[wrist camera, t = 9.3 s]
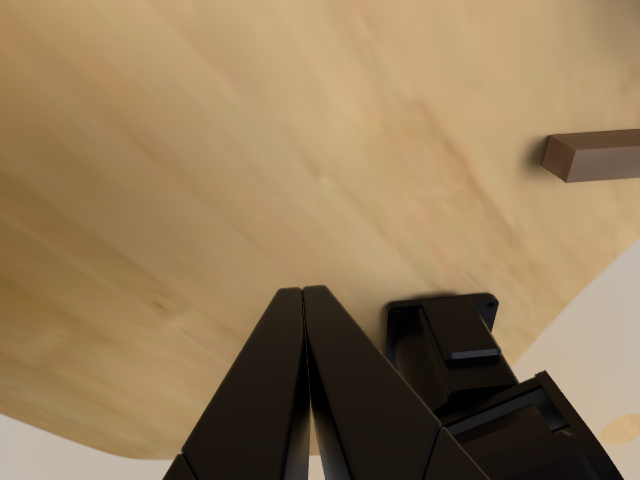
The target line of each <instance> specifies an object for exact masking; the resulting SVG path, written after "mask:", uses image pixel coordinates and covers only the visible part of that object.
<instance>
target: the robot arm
mask: <svg viewBox="0 0 640 480" xmlns="http://www.w3.org/2000/svg"><path fill="white" fill-rule="evenodd" d="M302 294H303V297H302ZM488 302H490V303H488ZM487 303H488V304H487ZM498 305H499V302H498V300H497V299H496V297H495V296H494V295H492V294H483V295H472V296H460V297H449V298H437V299H426V300H414V301H403V302H394V303H391V304H389V305H388V306H387V308H386V317H385V333H384V349H383V353H382V352H381V351H380V350H379V349H378V347H377V346H376V345H375V344H374V343H373V341H372V340H371V339H370V338H369V337H368V335H367V334H366V333H365V332H364V331H363V330H362V328H361V327H360V326H359V325H358V324H357V322H356V321H355V320H354V319H353V318H352V316H351V315H350V314H349V313H348V312H347V311H346V309H345V308H344V307H343V306H342V305H341V303H340V302H339V301H338V300H337V299H336V297H335V296H334V295H333V294H332V293H331V292H330V290H329V289H328V288H327V287H326V286H324V285H316V286H305V287H304V288H303V289H301V288H300V287H291V288H281V289H279V290H278V291H277V292H276V294H275V295H274V297H273V299H272V300H271V302H270V304H269V305H268V307H267V309H266V310H265V312H264V314H263V315H262V317H261V318H260V320H259V322H258V323H257V325H256V327H255V328H254V330H253V332H252V333H251V335H250V337H249V338H248V340H247V342H246V343H245V345H244V346H243V348H242V350H241V351H240V353H239V355H238V356H237V358H236V360H235V361H234V363H233V365H232V366H231V368H230V369H229V371H228V373H227V374H226V376H225V378H224V379H223V381H222V383H221V384H220V386H219V388H218V389H217V391H216V393H215V394H214V396H213V397H212V399H211V401H210V402H209V404H208V406H207V407H206V409H205V411H204V412H203V414H202V416H201V417H200V419H199V420H198V422H197V424H196V425H195V427H194V429H193V430H192V432H191V434H190V435H189V437H188V439H187V440H186V442H185V444H184V445H183V447H182V449H181V452H182V454H178V455H177V456H176V458H175V459H174V461H173V463H172V465H171V466H170V468H169V470H168V471H167V473H166V475H165V476H164V478H163V479H162V480H308V466H309V446H310V424H311V407H312V415H313V420H314V426H315V431H316V436H317V441H318V446H319V451H320V456H321V461H322V466H323V470H324V475H325V480H624V479H623V477H622V476H621V474H620V473H619V471H618V469H617V468H616V466H615V465H614V463H613V462H612V460H611V459H610V457H609V456H608V454H607V453H606V451H605V450H604V448H603V447H602V446H601V444H600V443H599V441H598V440H597V438H596V437H595V436H594V434H593V433H592V432H591V430H590V429H589V428H588V426H587V425H586V424H585V422H584V421H583V420H582V418H581V417H580V416H579V414H578V413H577V412H576V410H575V409H574V408H573V406H572V405H571V404H570V402H569V401H568V400H567V398H566V397H565V396H564V394H563V393H562V392H561V390H560V389H559V388H558V386H557V385H556V384H555V382H554V381H553V380H552V378H551V377H550V376H549V374H548V373H547V372H546V370H544V371H542V372H540V373H537V374H535V377H533V378H531V379H528V380H526V381H524V382H521V383H519V381H518V380H517V378H516V376H515V375H514V373H513V371H512V370H511V368H510V366H509V364H508V363H507V361H506V359H505V358H504V356H503V354H502V353H501V349H500V347H499V345H498V344H497V342H496V340H495V339H494V337H493V335H492V334H491V332H492V328H493V324H494V320H495V316H496V312H497V309H498ZM303 307H304V310H303ZM395 310H398V311H396V312H393V311H395ZM304 320H305V324H304ZM305 333H306V337H305ZM306 346H307V350H306ZM307 359H308V363H307ZM308 372H309V376H308ZM309 385H310V389H309ZM310 398H311V406H310Z"/></svg>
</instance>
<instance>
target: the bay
mask: <svg viewBox="0 0 640 480" xmlns="http://www.w3.org/2000/svg"><path fill="white" fill-rule="evenodd" d="M542 166H543V167H544V168H546V169H547V170H549V171H550V172H552V173H553V174H554V175H556V176H557V177H559V178H560V179H561V180H563V181H564V182H566V183H570V182H584V181H597V180H611V179H624V178H638V177H640V129H632V130H617V131H603V132H588V133H573V134H558V135H550V136H549V140H548V144H547V147H546V151H545V155H544V159H543V162H542Z"/></svg>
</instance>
